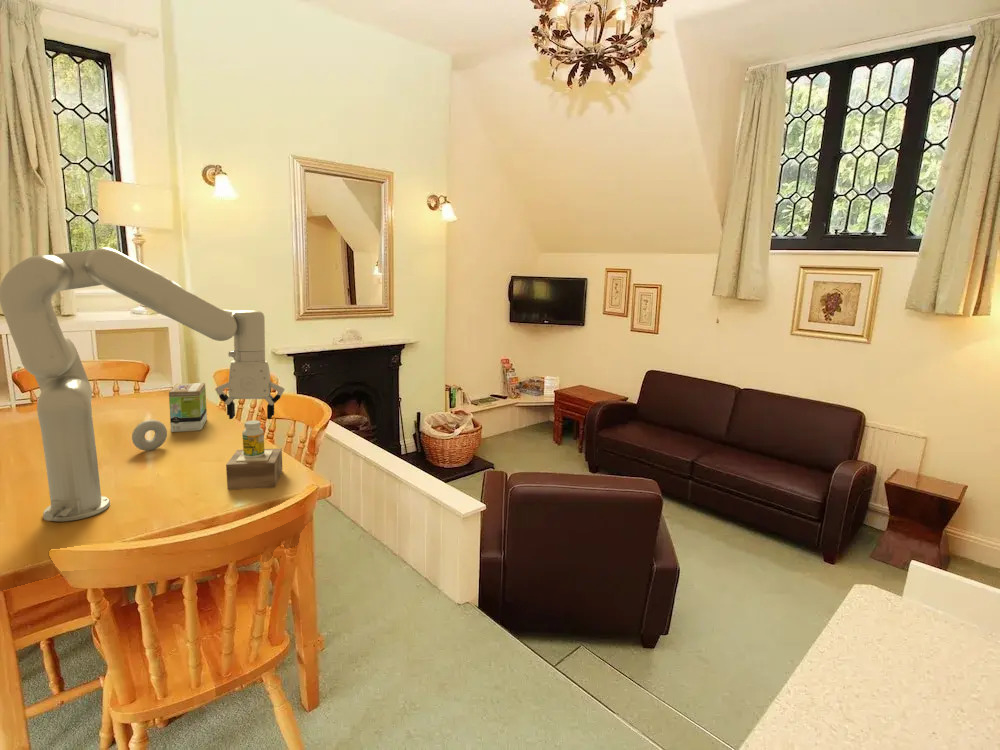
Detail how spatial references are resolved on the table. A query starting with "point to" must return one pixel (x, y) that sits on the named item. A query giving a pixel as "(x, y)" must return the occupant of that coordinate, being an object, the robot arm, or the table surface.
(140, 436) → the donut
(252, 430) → the supplement bottle
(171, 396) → the tea box
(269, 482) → the walnut block
